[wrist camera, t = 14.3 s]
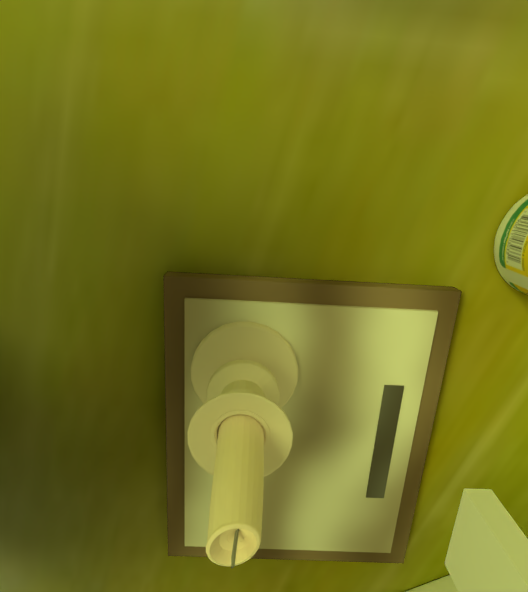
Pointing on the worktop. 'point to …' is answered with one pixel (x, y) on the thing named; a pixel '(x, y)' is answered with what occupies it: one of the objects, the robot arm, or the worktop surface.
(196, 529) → the writing board
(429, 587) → the milk
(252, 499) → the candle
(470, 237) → the worktop surface
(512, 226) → the supplement bottle
